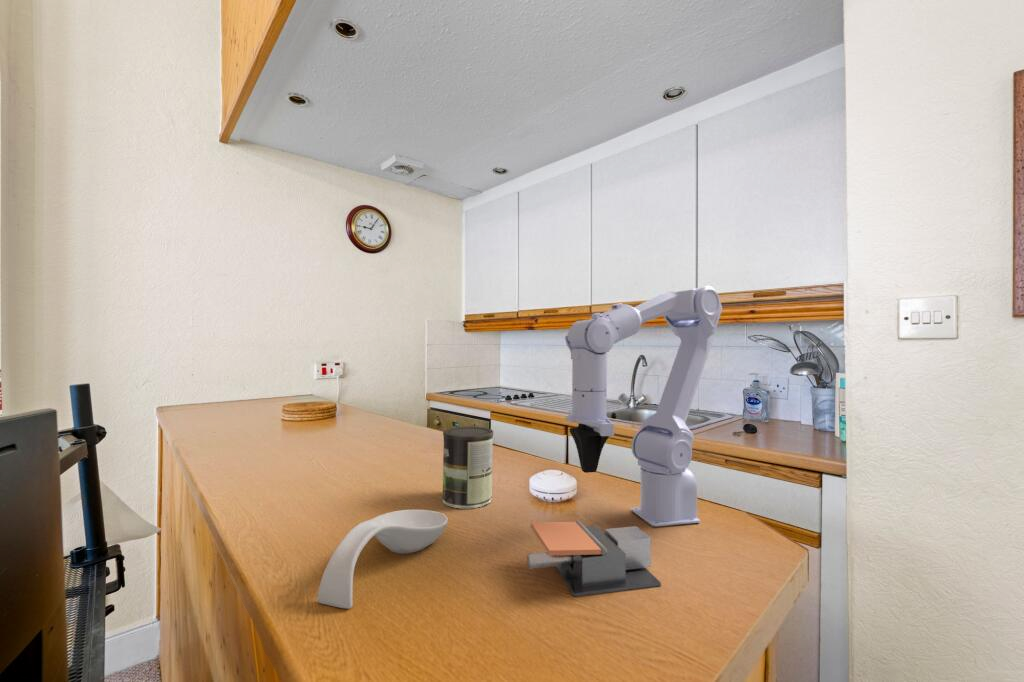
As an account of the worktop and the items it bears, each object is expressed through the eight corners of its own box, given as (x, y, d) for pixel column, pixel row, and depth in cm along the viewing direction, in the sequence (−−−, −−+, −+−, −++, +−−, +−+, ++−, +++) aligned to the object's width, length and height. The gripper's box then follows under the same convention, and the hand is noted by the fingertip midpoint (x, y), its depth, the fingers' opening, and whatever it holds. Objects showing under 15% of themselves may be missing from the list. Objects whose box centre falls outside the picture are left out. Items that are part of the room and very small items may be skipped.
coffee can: (439, 510, 80) (440, 436, 80) (444, 492, 90) (445, 426, 90) (493, 509, 81) (494, 435, 81) (491, 491, 91) (492, 426, 91)
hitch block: (620, 547, 65) (620, 520, 65) (660, 585, 54) (660, 553, 55) (547, 554, 62) (547, 527, 63) (574, 596, 52) (574, 563, 52)
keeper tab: (580, 526, 63) (580, 520, 63) (607, 555, 54) (608, 548, 54) (530, 527, 61) (530, 520, 61) (549, 557, 52) (549, 549, 52)
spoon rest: (396, 525, 73) (397, 483, 74) (459, 533, 70) (459, 490, 70) (293, 602, 51) (294, 542, 51) (378, 619, 47) (379, 555, 48)
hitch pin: (636, 553, 62) (636, 526, 62) (650, 567, 58) (650, 537, 58) (525, 565, 58) (525, 536, 58) (533, 580, 54) (533, 549, 54)
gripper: (553, 387, 77) (552, 461, 76) (583, 394, 63) (583, 486, 62) (589, 386, 78) (588, 459, 78) (626, 394, 64) (626, 483, 64)
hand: (589, 471), depth 70 cm, fingers closed
